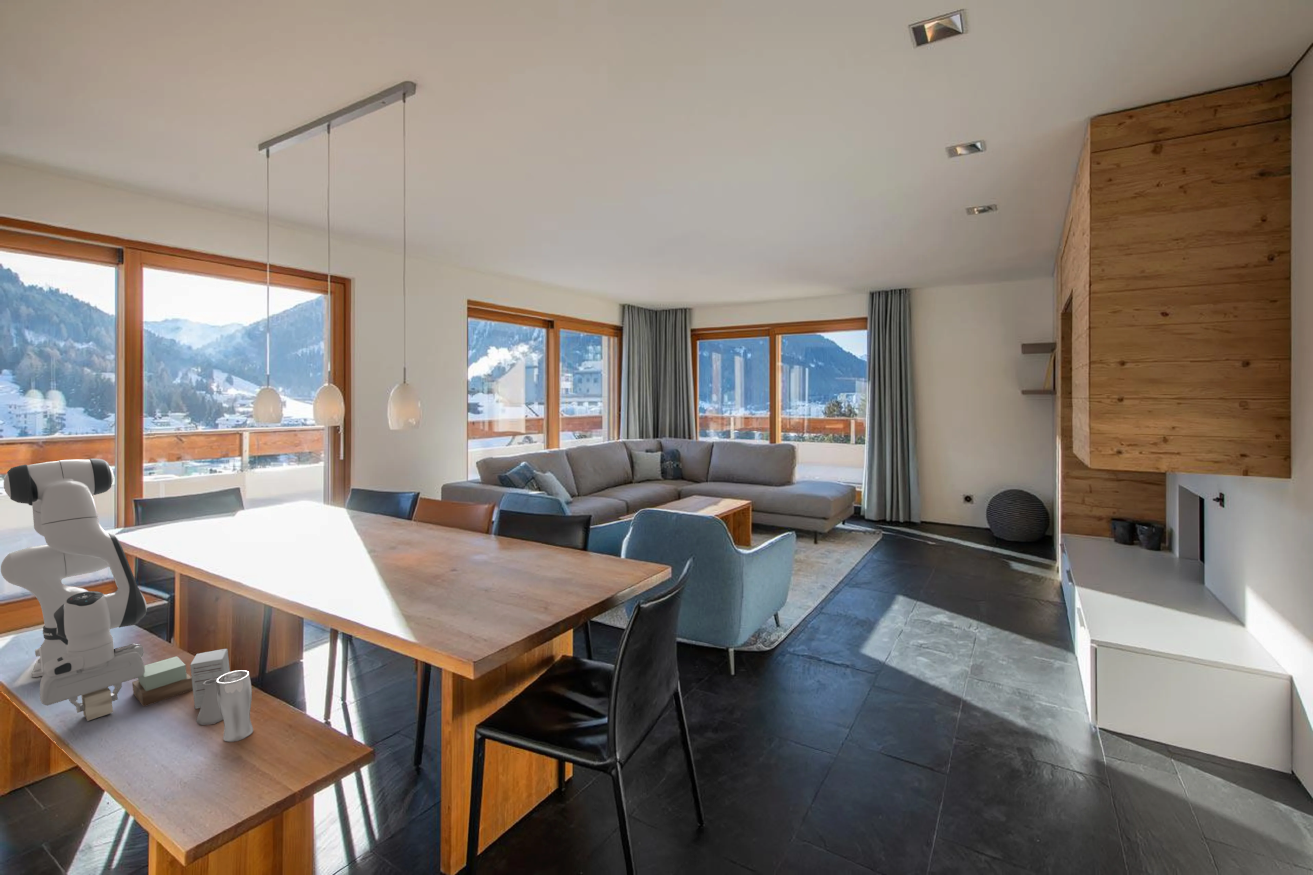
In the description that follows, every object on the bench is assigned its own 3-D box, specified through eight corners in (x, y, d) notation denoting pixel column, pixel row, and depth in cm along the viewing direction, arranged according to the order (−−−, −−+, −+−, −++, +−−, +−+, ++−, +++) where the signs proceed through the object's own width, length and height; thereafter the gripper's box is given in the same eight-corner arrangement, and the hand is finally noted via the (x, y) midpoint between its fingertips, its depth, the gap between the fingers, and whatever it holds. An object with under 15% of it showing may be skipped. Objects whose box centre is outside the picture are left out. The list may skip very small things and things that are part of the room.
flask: (213, 727, 154) (209, 689, 153) (189, 724, 155) (185, 687, 154) (238, 711, 161) (234, 675, 160) (215, 709, 162) (211, 673, 161)
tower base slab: (133, 695, 171) (132, 681, 171) (181, 679, 180) (180, 666, 180) (143, 708, 165) (142, 693, 164) (193, 691, 173) (192, 677, 173)
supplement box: (200, 697, 169) (196, 653, 168) (232, 690, 172) (228, 647, 171) (193, 709, 162) (189, 664, 161) (227, 703, 165) (222, 658, 164)
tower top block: (138, 681, 171) (137, 667, 171) (178, 669, 178) (176, 656, 178) (146, 691, 166) (144, 677, 165) (186, 678, 172) (185, 664, 172)
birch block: (83, 714, 160) (80, 692, 160) (108, 706, 164) (106, 684, 164) (87, 720, 157) (84, 698, 157) (113, 712, 161) (110, 690, 161)
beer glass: (247, 741, 147) (241, 682, 146) (215, 744, 146) (209, 684, 145) (260, 725, 154) (255, 668, 153) (230, 728, 153) (224, 671, 152)
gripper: (139, 638, 169) (144, 685, 171) (35, 666, 153) (41, 718, 155) (145, 644, 165) (150, 692, 167) (39, 673, 149) (45, 727, 151)
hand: (97, 705), depth 161 cm, fingers closed on birch block, 5 cm apart
